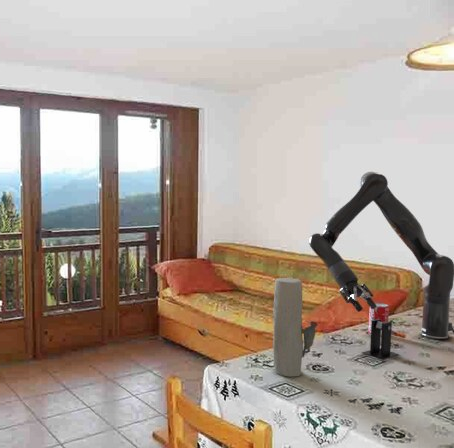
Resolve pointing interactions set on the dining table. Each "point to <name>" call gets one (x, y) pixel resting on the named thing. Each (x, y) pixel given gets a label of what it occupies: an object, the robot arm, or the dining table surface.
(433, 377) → the dining table surface
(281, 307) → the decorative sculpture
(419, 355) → the dining table surface
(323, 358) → the dining table surface
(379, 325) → the clamp lever
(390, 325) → the clamp bracket
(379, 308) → the soda can
